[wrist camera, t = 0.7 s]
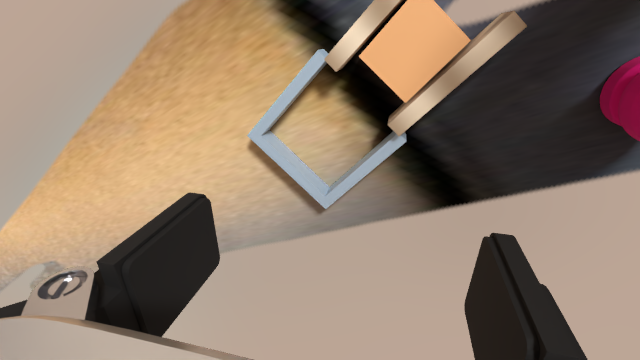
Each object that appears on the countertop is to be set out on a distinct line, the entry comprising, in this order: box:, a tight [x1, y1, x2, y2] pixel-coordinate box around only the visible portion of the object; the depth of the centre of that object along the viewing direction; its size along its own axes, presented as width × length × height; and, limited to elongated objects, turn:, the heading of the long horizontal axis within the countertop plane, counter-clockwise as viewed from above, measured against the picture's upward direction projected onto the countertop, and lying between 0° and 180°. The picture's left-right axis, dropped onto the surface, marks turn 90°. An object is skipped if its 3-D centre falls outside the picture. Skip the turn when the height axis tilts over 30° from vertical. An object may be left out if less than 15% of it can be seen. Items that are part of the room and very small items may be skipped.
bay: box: [247, 49, 406, 209], centre depth 34 cm, size 12×12×2 cm
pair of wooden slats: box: [324, 0, 527, 136], centre depth 28 cm, size 13×10×4 cm
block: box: [359, 0, 471, 103], centre depth 28 cm, size 7×6×4 cm
